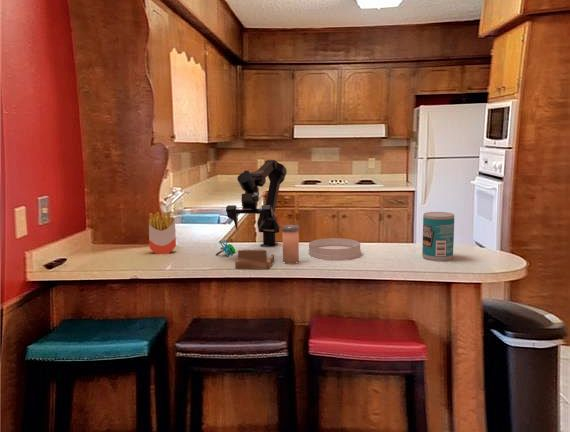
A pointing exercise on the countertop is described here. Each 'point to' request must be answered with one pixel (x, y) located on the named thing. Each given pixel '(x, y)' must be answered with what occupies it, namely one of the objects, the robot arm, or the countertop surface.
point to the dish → (334, 249)
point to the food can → (438, 236)
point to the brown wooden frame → (253, 259)
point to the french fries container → (162, 233)
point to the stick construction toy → (226, 249)
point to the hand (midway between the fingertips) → (247, 228)
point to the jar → (290, 243)
